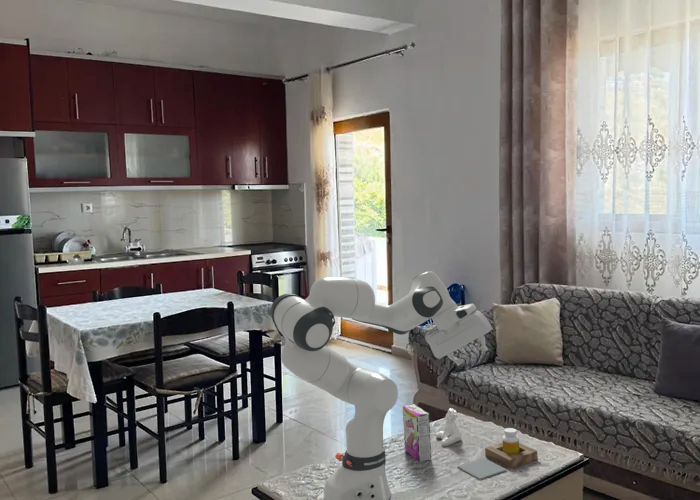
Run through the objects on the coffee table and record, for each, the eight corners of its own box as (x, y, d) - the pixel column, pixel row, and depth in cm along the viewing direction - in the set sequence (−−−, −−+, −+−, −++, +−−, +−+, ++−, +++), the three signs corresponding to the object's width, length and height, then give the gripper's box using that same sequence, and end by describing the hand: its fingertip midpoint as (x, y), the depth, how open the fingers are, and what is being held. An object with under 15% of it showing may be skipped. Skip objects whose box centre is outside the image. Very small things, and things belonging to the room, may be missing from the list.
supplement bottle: (519, 461, 219) (519, 433, 218) (503, 461, 220) (502, 432, 219) (519, 455, 224) (518, 427, 223) (502, 454, 225) (501, 426, 224)
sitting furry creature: (434, 437, 243) (433, 405, 242) (457, 434, 245) (455, 403, 244) (442, 447, 234) (441, 414, 233) (465, 444, 236) (464, 411, 234)
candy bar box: (403, 451, 232) (401, 405, 230) (416, 448, 234) (414, 403, 232) (418, 463, 222) (416, 415, 220) (432, 460, 224) (430, 413, 222)
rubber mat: (479, 480, 207) (479, 478, 207) (457, 467, 217) (457, 466, 217) (506, 471, 212) (506, 469, 212) (483, 459, 222) (483, 458, 222)
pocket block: (510, 468, 214) (509, 459, 214) (485, 456, 224) (485, 447, 224) (537, 459, 220) (537, 450, 219) (512, 448, 230) (511, 439, 230)
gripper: (418, 336, 207) (442, 375, 205) (472, 306, 197) (497, 346, 196) (425, 331, 212) (448, 368, 211) (478, 301, 203) (502, 340, 201)
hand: (472, 357), depth 203 cm, fingers open, 8 cm apart
